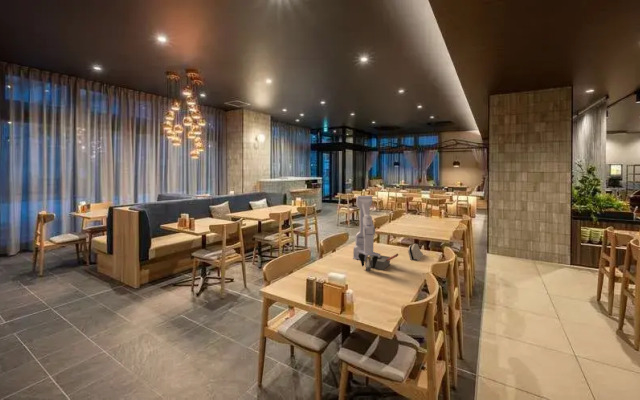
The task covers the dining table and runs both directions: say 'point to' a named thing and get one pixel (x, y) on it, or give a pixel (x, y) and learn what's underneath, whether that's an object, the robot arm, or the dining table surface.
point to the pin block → (380, 262)
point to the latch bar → (392, 257)
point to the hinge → (414, 252)
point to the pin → (368, 263)
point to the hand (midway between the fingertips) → (368, 266)
